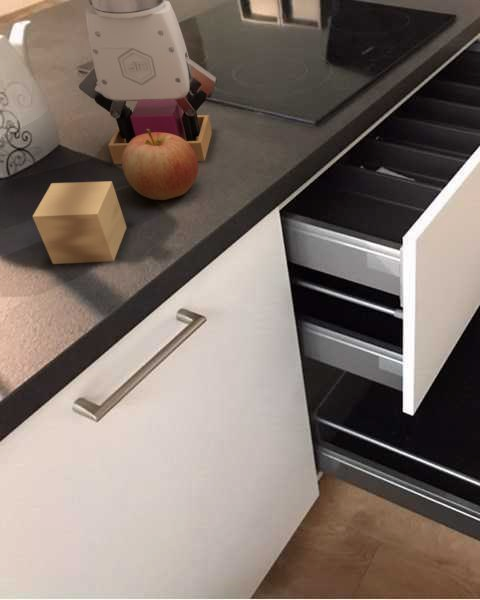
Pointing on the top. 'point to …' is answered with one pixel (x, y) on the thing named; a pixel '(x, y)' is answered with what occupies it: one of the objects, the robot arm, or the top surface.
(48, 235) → the birch block
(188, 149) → the apple
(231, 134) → the top surface
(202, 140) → the tray
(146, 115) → the pink block
